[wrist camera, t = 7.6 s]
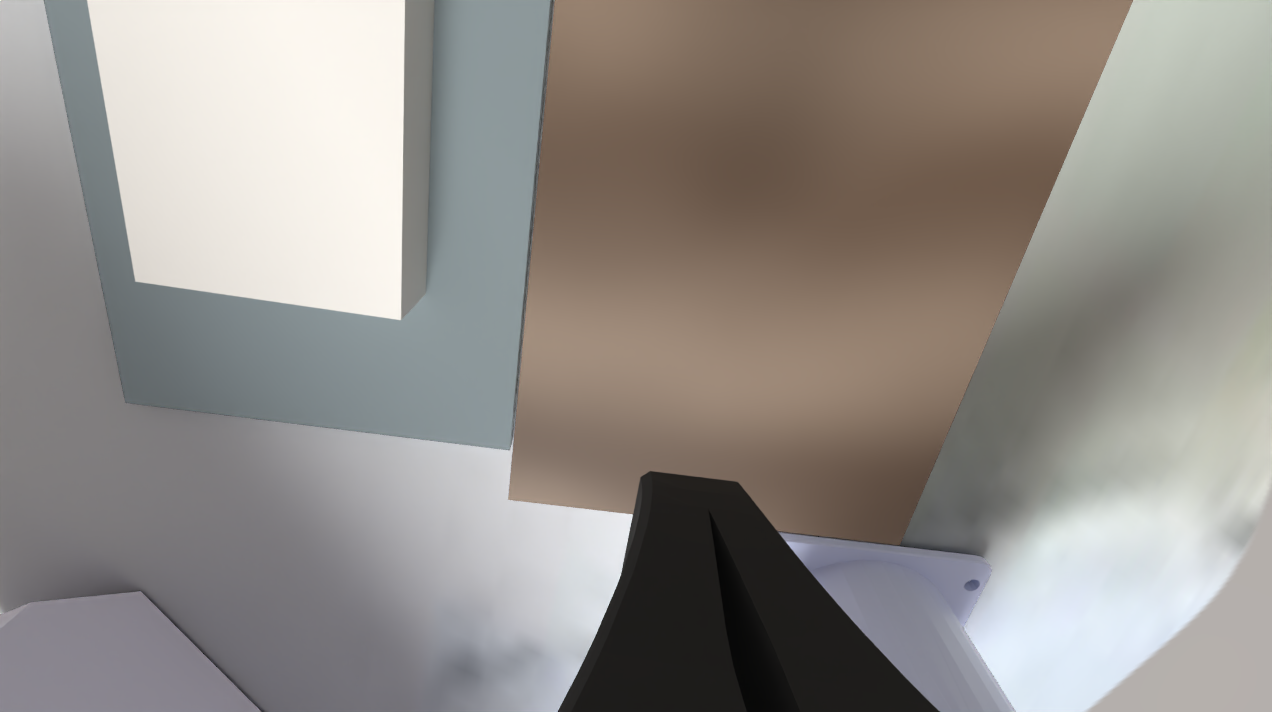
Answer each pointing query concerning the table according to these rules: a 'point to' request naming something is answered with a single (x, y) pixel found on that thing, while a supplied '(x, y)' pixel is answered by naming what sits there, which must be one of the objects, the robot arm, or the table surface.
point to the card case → (273, 146)
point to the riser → (784, 240)
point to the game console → (106, 660)
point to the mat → (340, 341)
